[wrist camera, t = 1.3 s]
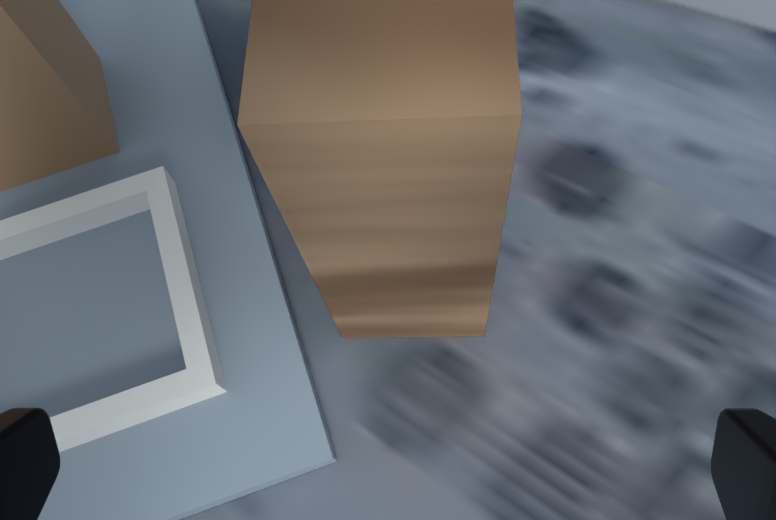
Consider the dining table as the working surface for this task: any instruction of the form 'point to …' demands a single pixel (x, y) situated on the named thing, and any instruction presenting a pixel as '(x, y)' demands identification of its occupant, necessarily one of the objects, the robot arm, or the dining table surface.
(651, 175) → the dining table surface
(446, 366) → the dining table surface
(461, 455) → the dining table surface
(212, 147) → the baseplate
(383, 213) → the walnut pillar
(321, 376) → the dining table surface
